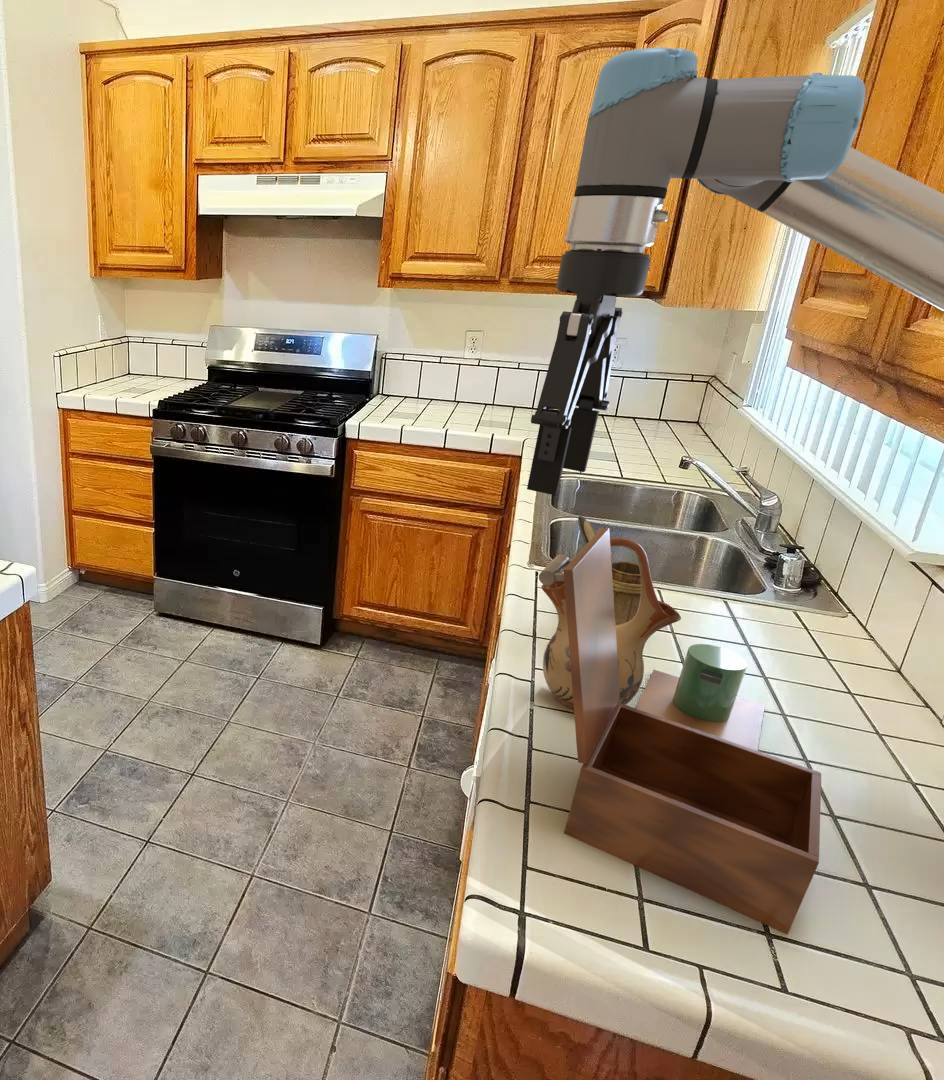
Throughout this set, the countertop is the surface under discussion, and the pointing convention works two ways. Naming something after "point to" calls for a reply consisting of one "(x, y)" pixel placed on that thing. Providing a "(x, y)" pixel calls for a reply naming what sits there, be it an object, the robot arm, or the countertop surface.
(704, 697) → the pot
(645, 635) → the ceramic vessel
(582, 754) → the chest lid
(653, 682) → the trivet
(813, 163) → the robot arm
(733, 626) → the countertop surface
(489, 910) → the countertop surface
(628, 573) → the wooden mug
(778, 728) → the countertop surface
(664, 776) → the chest
